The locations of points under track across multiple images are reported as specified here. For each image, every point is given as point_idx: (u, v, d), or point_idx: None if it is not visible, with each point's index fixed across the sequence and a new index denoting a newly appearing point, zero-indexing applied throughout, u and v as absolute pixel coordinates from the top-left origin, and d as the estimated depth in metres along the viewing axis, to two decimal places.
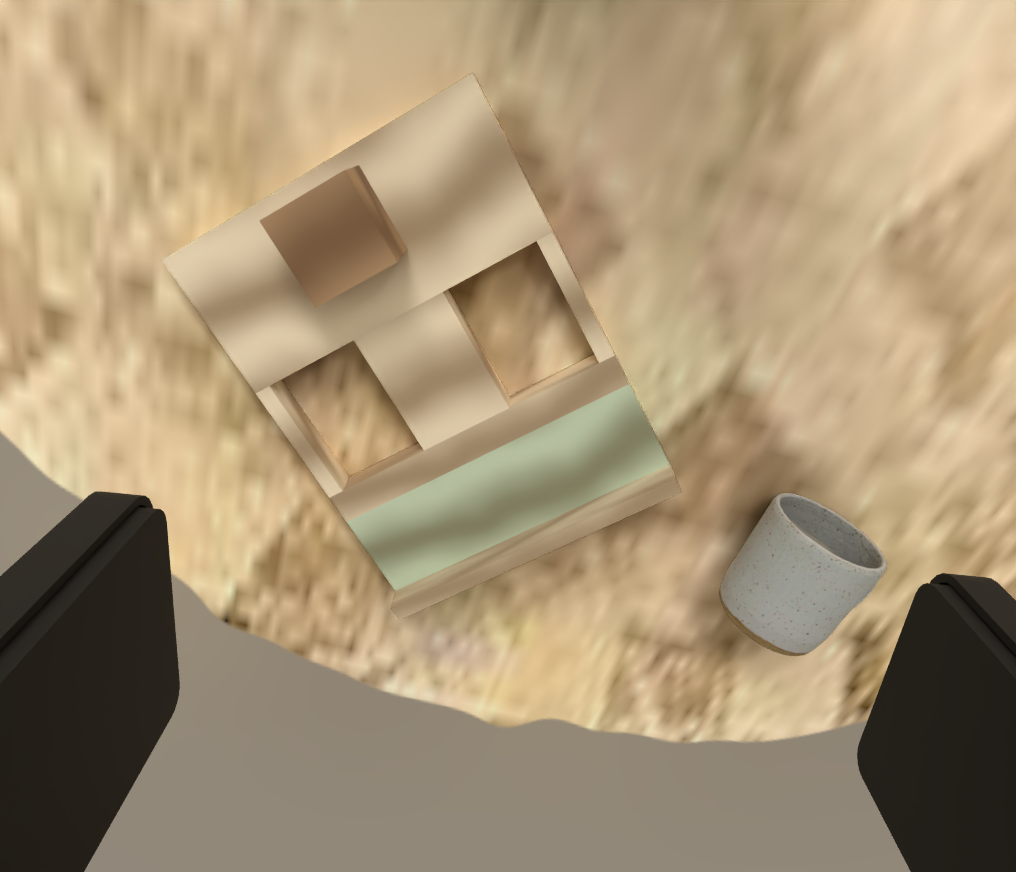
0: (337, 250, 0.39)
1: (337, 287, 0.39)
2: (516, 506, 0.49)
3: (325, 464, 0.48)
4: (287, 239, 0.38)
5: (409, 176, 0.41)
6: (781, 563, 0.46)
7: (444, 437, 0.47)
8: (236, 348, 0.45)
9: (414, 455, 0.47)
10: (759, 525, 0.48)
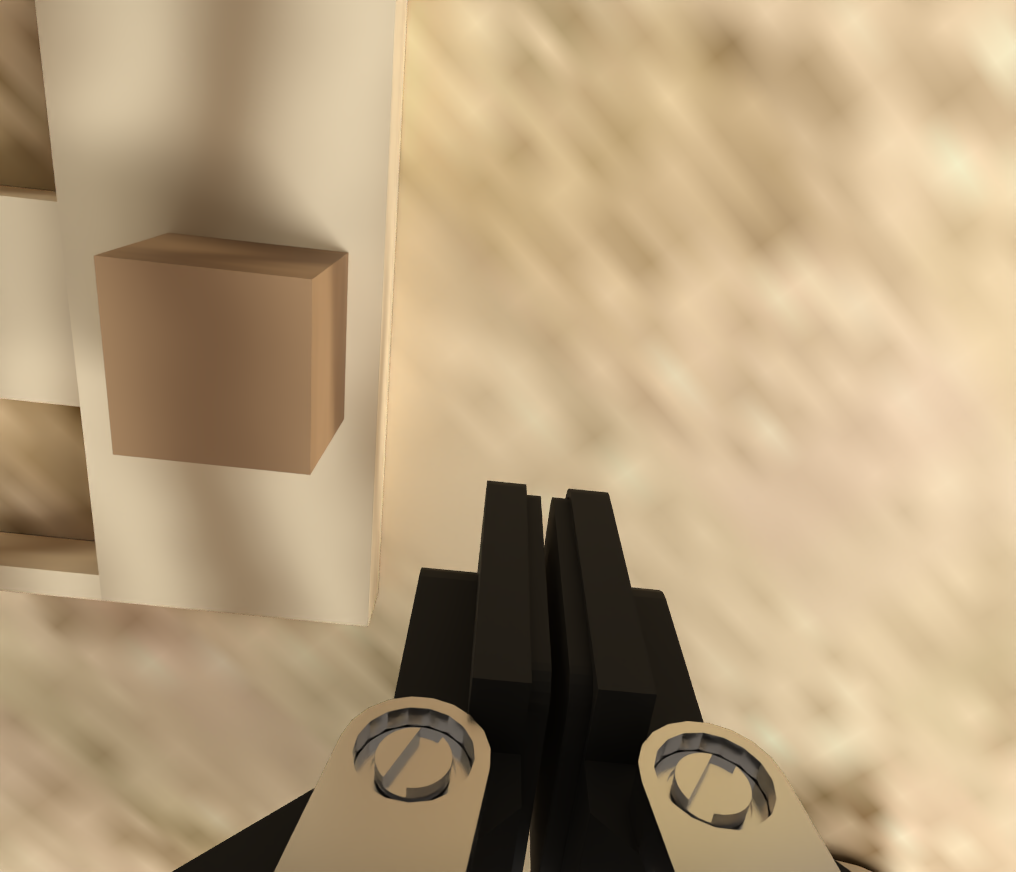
0: (183, 372, 0.19)
1: (115, 325, 0.18)
2: None
3: None
4: (250, 303, 0.18)
5: (285, 475, 0.24)
6: None
7: None
8: None
9: None
10: None
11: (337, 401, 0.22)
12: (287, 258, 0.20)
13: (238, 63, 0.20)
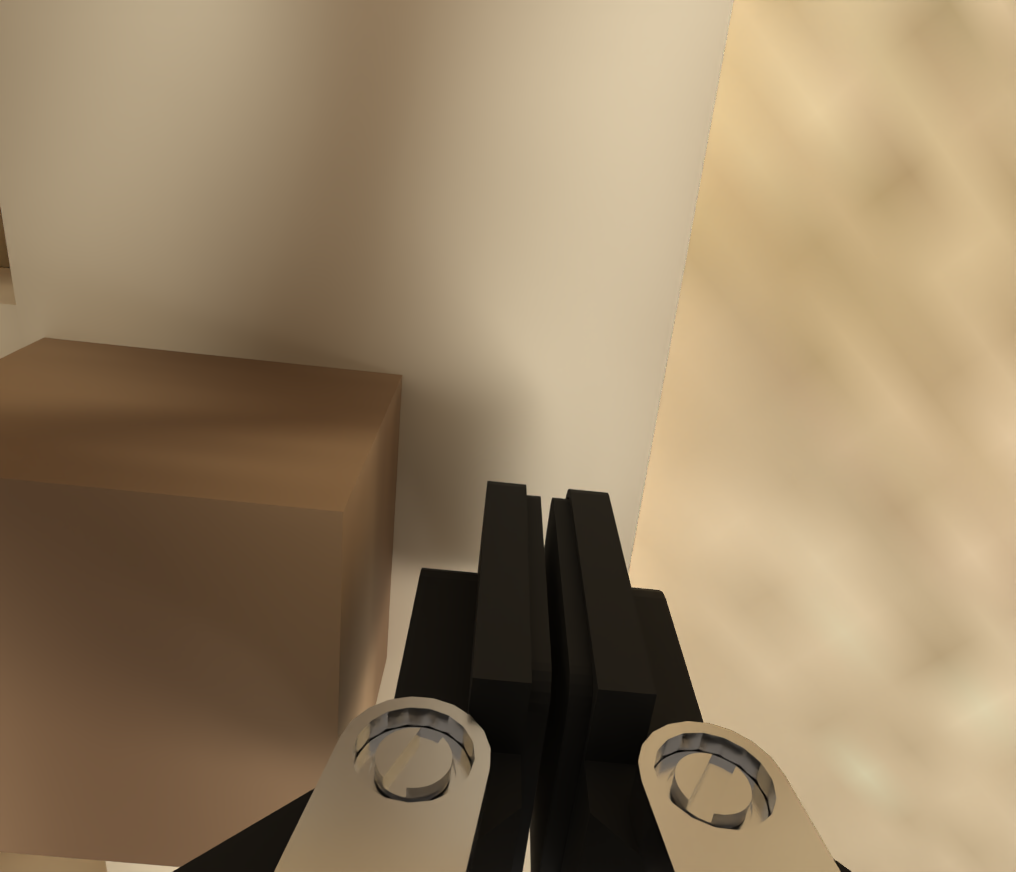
0: (44, 700, 0.08)
1: None
2: None
3: None
4: (193, 562, 0.07)
5: None
6: None
7: None
8: None
9: None
10: None
11: (379, 651, 0.12)
12: (281, 413, 0.09)
13: (395, 17, 0.09)
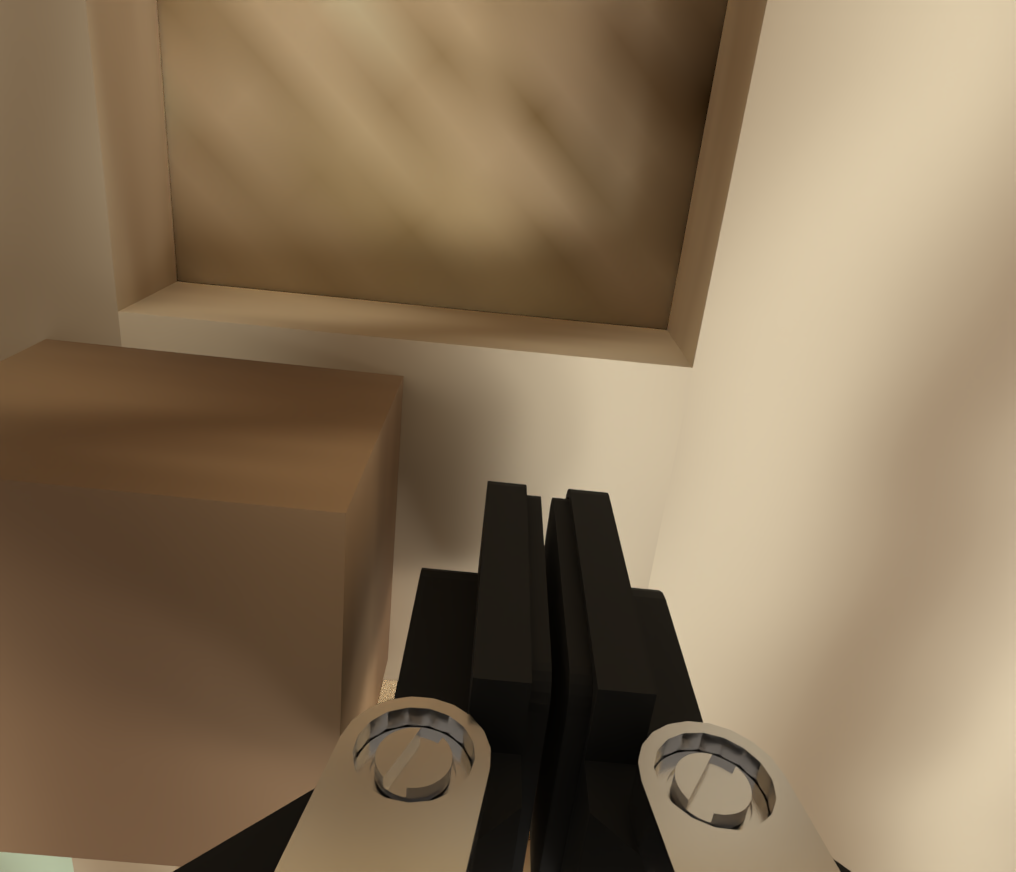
0: (48, 700, 0.08)
1: None
2: None
3: None
4: (197, 563, 0.07)
5: (949, 796, 0.14)
6: None
7: None
8: None
9: (111, 263, 0.10)
10: None
11: (380, 651, 0.12)
12: (283, 415, 0.09)
13: None
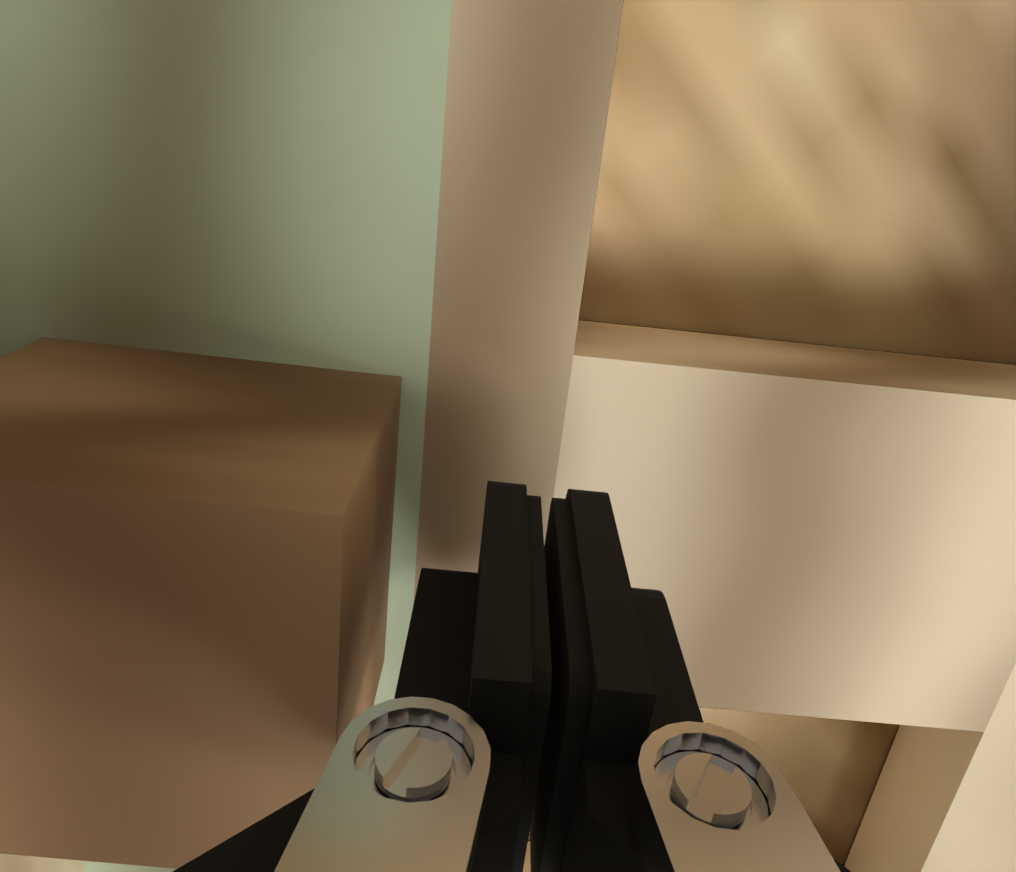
0: (43, 701, 0.08)
1: None
2: None
3: None
4: (193, 564, 0.07)
5: None
6: None
7: (570, 458, 0.11)
8: None
9: (577, 308, 0.10)
10: None
11: (376, 652, 0.12)
12: (281, 415, 0.09)
13: None
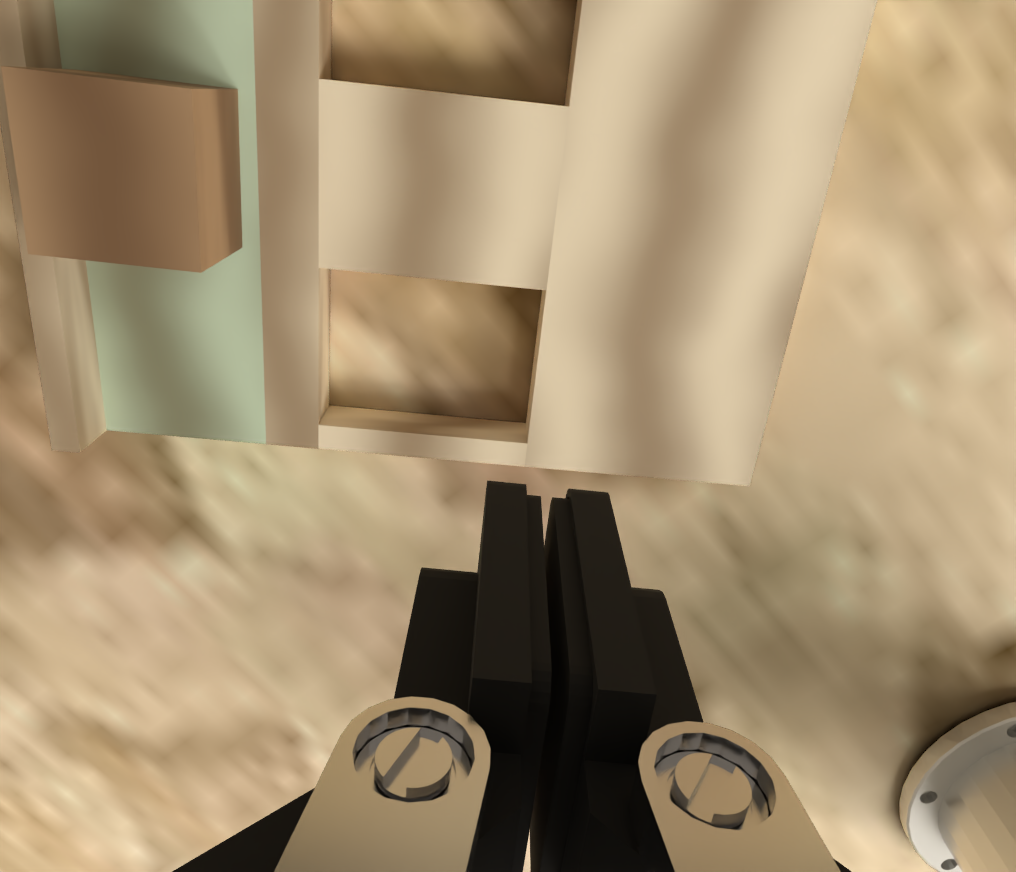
0: (85, 176, 0.22)
1: (23, 131, 0.21)
2: None
3: None
4: (140, 111, 0.21)
5: (709, 350, 0.28)
6: None
7: (323, 132, 0.25)
8: None
9: (318, 55, 0.24)
10: None
11: (232, 225, 0.25)
12: (177, 83, 0.23)
13: None
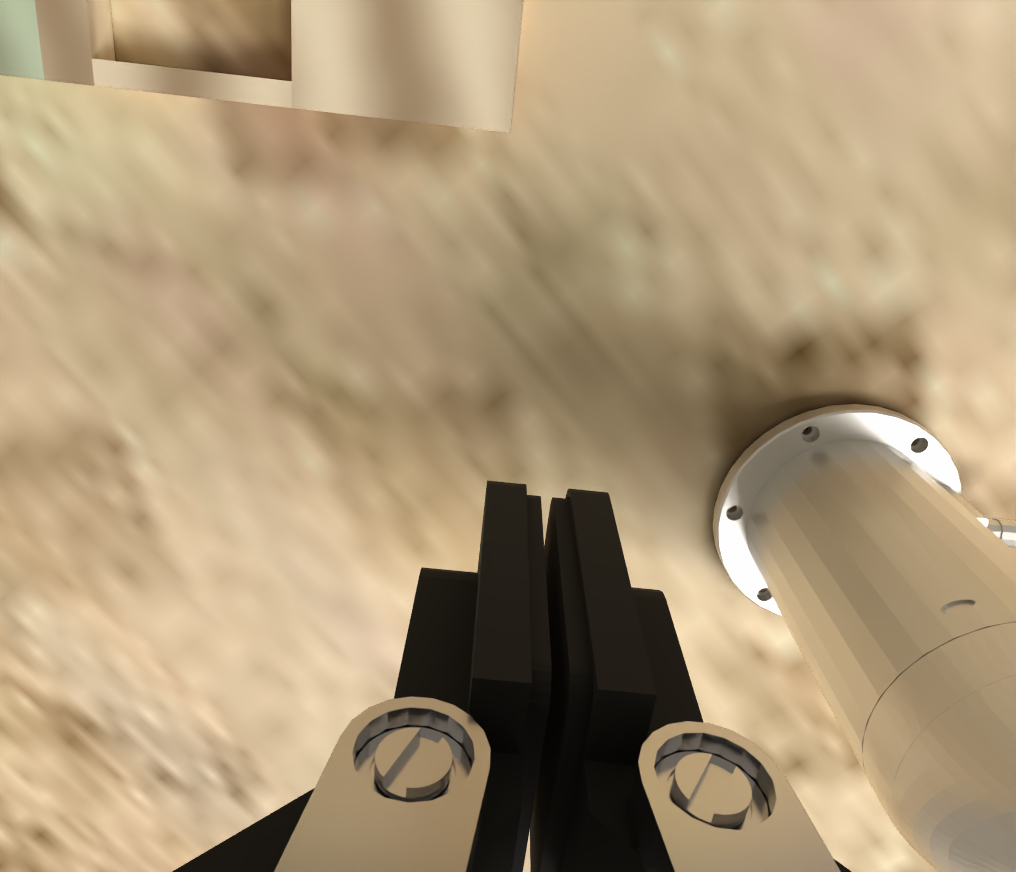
0: None
1: None
2: None
3: None
4: None
5: None
6: None
7: None
8: None
9: None
10: None
11: None
12: None
13: None
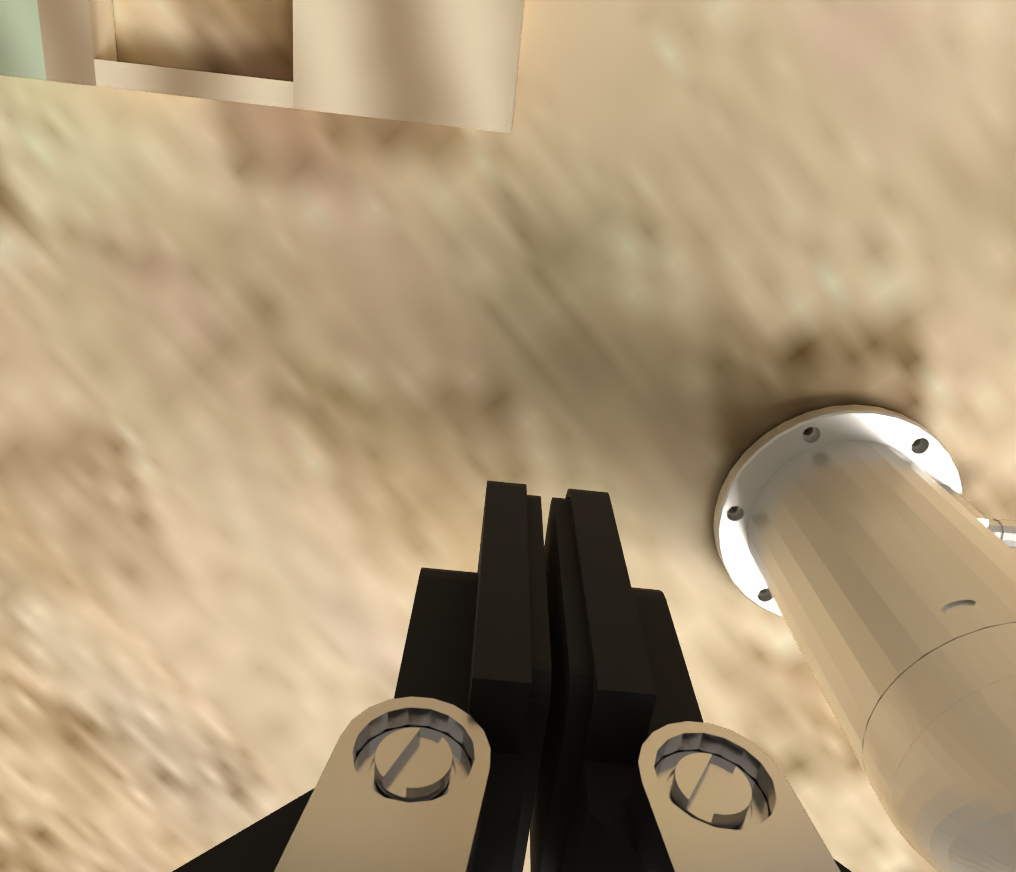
0: None
1: None
2: None
3: None
4: None
5: None
6: None
7: None
8: None
9: None
10: None
11: None
12: None
13: None
